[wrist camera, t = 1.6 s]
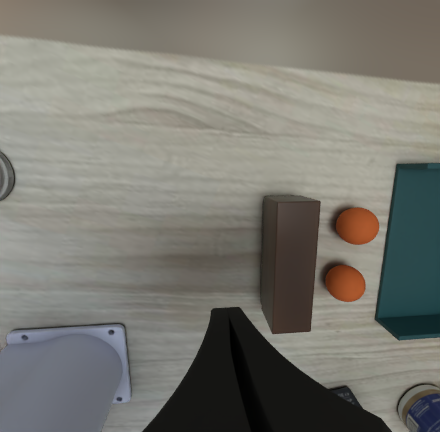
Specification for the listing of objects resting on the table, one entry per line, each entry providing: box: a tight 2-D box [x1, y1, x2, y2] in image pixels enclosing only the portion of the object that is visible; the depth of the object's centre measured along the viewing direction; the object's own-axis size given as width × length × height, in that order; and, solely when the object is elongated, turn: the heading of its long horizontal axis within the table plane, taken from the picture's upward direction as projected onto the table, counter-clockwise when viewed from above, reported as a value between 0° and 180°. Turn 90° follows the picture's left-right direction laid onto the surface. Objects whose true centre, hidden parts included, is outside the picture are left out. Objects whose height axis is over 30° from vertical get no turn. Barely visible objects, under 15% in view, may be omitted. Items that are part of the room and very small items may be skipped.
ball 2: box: [326, 265, 365, 302], centre depth 20 cm, size 3×3×3 cm
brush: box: [261, 195, 321, 334], centre depth 19 cm, size 3×10×4 cm, turn 1°
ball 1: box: [336, 208, 379, 245], centre depth 19 cm, size 3×3×3 cm
